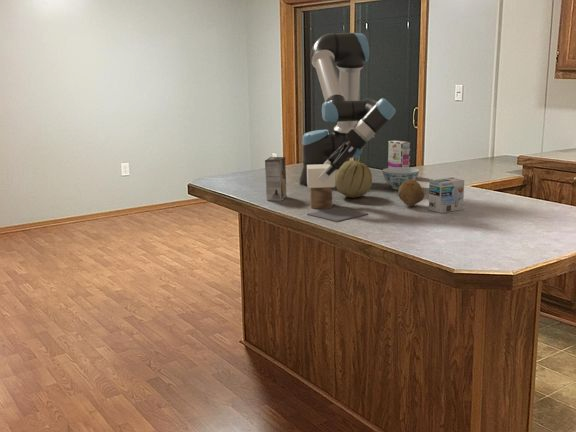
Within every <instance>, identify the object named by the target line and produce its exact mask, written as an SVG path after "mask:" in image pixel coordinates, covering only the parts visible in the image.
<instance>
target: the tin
mask: <svg viewBox="0 0 576 432" xmlns="http://www.w3.org/2000/svg"><path fill="white" fill-rule="evenodd" d="M309 190H310V191H309V192H310V195H309V196H310V201H309V202H310V208H311V209H323V208H324V209H331V208H333V187H324V188H309Z"/></svg>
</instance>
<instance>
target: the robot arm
mask: <svg viewBox="0 0 576 432" xmlns="http://www.w3.org/2000/svg"><path fill="white" fill-rule="evenodd" d="M369 58H370V47H369V42H368V38H367V37H366V35H365V33H361V32H342V33H330V32H329V33H326V34H324V35H322V36H320V37H319V38H318V39H317V40H316V41H315V42H314V43H313V45H312V48H311V51H310V61H311V65H312V66H313V68H315V70H316V74H317V78H318V81H319V84H320V88H321V92H322V96H323V99H324V102H323V103H322V105H321V118H322V120H323V121H324V122H328V123H329V122H330V123H337V124H336V125H335V126H334V127H333V131H332V132H330V131H329V129H317V130H312V131H308V132H305V133H304V134H303V136H302V170H301V173H300V177H299V184H300V185H302V186H307V187H308V185H307V165H317V164H330V166H329V167H328V168H327V169H326V170H325V171H324V172H323V173H322V174H321V175H320V176H319V177H318V179H319V180H320V181H321V182H322V183H324V182H325V181H326V180H327V179H328V178H329V177H330V176H331V175H332V174H333V173H334V172H335V173H336V171H337V169H340V167H341V166H342V165H343V163H345V162H347V161H348V159H353V158H354V159H356V158H359V157H360V156H361V154H362V153H363V149H364V147H365V146H366V145H367V142H369V141H370V140H371V139H374V138H375V135H376V134H377V133H378V132H379V131H380V130H381V129H382V128H383V127H384V126H385V124H387V123H388V122H389V121H390V120H392V117H393V116H394V115H395V114H396V108H395V107H394V106H393V104H391V103H390V101H388V100H387V99H385V98H383V97H382V98H380V99H379V100H375V99H373V98H367V97H366V98H363V99H362V100H359V93H360V75H361V70H362V69H363V68H364V66H365V63H367V62H368V61H369V60H370V59H369ZM335 63H336V65H335ZM337 69H338V70H339V73H338V72H337V71H338V70H337Z"/></svg>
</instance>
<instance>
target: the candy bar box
mask: <svg viewBox="0 0 576 432" xmlns="http://www.w3.org/2000/svg"><path fill="white" fill-rule="evenodd" d="M387 157H388V158H387V168H394V167H407V168H411V165H410V164H411V161H410V160H411V142H409V141H402V140H388V153H387Z"/></svg>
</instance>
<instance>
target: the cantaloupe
mask: <svg viewBox="0 0 576 432" xmlns="http://www.w3.org/2000/svg"><path fill="white" fill-rule="evenodd" d="M372 183H373V174H372V172H371V169H370V168H369V166H368V165H366V164H365V163H362V162H361V159H360V158H359V159H358V160H346V161H345V162H344V163H343V165H342V166H341V167H340V169H337V170H336V171H335V188H336V189H337V191H338V192H339V193H340V194H341V195H342V196H345V197H347V198H351V199H353V198H360V197H362V196H364V195H366V194H367V193H369V191H370V188H371V186H372Z"/></svg>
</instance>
